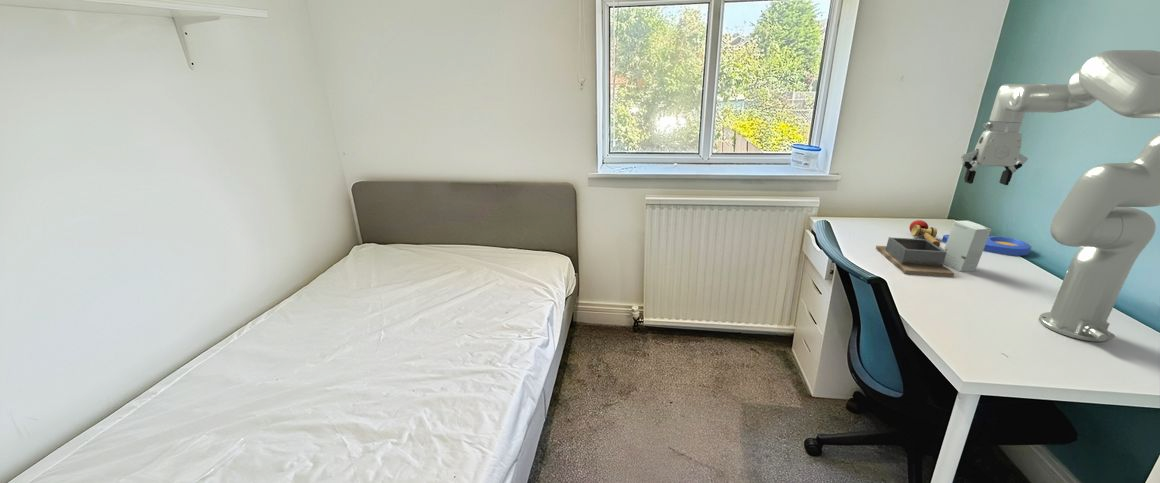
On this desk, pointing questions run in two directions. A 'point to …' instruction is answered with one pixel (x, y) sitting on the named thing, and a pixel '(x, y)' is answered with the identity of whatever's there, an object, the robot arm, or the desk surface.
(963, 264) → the skincare box
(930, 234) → the kendama
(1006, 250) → the location marker
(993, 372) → the desk surface
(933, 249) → the square box holder
